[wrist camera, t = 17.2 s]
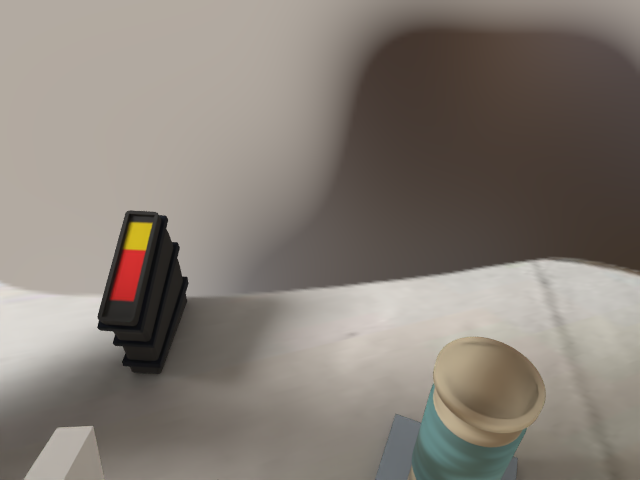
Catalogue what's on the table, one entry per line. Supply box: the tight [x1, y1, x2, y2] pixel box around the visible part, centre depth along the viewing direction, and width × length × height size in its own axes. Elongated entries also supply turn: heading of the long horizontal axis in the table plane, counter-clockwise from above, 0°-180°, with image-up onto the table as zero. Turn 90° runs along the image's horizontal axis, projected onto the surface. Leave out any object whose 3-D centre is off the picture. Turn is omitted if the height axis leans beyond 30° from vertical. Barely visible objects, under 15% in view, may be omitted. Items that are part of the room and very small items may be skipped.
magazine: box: [97, 211, 188, 374], centre depth 50 cm, size 4×13×15 cm, turn 178°
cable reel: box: [407, 337, 546, 480], centre depth 36 cm, size 7×7×15 cm
